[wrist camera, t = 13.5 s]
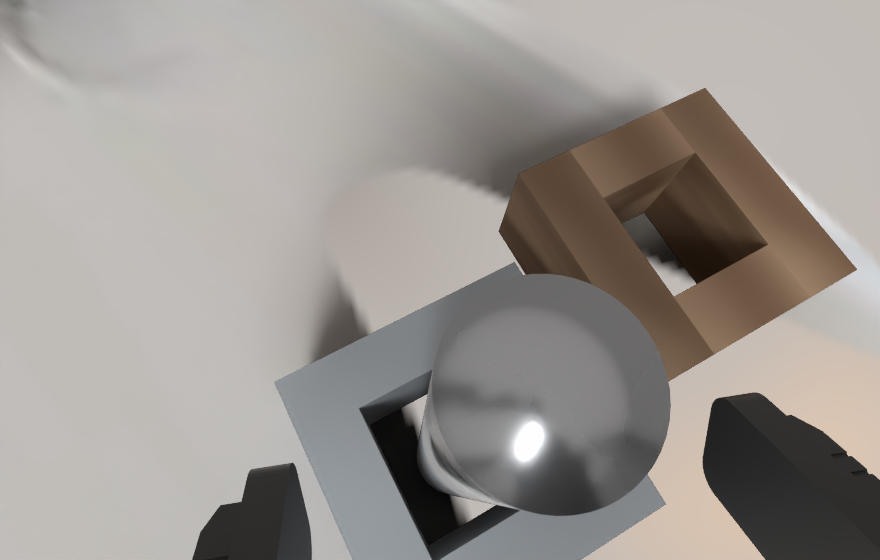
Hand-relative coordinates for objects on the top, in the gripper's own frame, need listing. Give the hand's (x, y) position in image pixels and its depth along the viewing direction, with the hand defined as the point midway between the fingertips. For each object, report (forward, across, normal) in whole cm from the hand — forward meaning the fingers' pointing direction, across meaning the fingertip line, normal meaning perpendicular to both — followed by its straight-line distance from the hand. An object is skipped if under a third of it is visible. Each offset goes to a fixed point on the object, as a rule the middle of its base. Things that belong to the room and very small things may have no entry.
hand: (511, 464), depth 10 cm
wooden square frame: (+14, -9, +3) cm, 17 cm away
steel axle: (+9, 0, +8) cm, 12 cm away
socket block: (+9, 0, +8) cm, 12 cm away
